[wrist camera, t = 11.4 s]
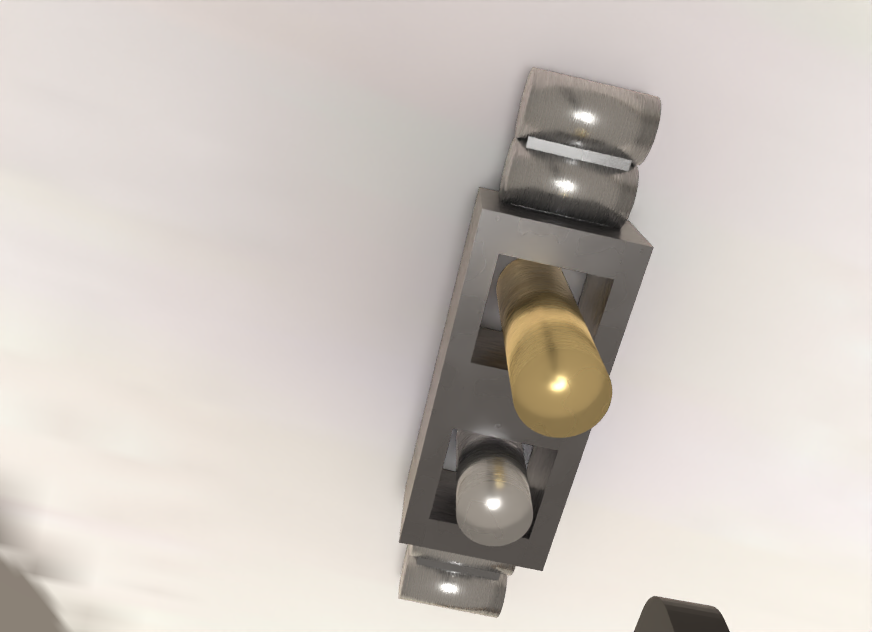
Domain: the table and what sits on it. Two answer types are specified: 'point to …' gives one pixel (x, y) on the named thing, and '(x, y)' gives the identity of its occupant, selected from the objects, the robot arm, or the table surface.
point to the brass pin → (550, 352)
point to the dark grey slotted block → (485, 352)
